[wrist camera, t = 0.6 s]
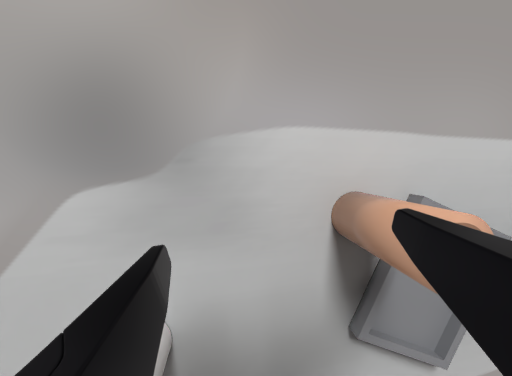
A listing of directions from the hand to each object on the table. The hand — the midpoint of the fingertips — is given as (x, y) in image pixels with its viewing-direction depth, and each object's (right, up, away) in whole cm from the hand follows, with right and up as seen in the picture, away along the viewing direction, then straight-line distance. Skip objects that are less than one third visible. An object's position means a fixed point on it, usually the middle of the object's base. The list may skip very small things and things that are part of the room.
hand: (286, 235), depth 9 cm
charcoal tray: (+20, -10, +20) cm, 30 cm away
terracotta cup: (+10, -1, +18) cm, 21 cm away
